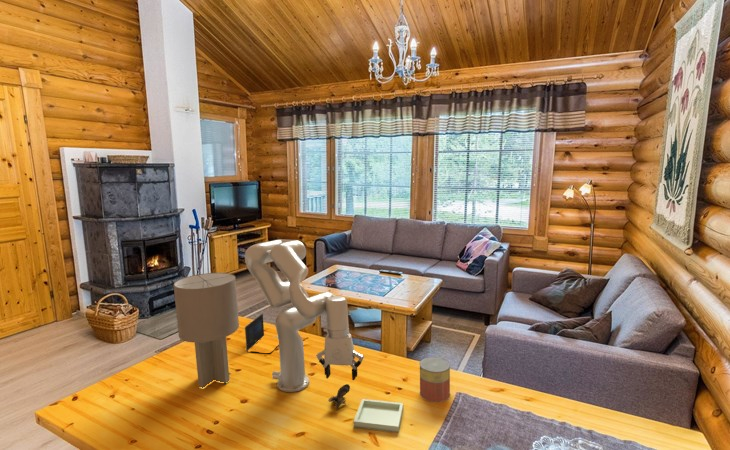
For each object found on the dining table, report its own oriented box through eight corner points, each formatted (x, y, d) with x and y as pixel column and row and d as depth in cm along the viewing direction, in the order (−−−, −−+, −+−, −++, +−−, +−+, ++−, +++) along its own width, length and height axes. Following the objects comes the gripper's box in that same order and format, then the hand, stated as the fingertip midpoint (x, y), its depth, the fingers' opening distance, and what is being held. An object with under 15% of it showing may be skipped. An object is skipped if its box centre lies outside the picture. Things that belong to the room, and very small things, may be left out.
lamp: (170, 389, 156) (159, 285, 150) (212, 362, 177) (204, 270, 171) (215, 400, 147) (205, 291, 141) (254, 371, 168) (247, 274, 162)
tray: (353, 427, 130) (353, 421, 130) (362, 404, 142) (362, 398, 142) (398, 432, 127) (398, 426, 126) (403, 408, 139) (403, 403, 139)
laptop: (270, 354, 183) (269, 328, 182) (246, 353, 186) (244, 326, 184) (286, 338, 201) (284, 314, 199) (263, 337, 203) (262, 313, 202)
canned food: (427, 382, 156) (427, 354, 154) (454, 391, 149) (454, 361, 148) (414, 396, 147) (414, 366, 145) (442, 406, 140) (442, 374, 138)
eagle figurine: (352, 408, 138) (355, 390, 147) (340, 394, 137) (343, 377, 145) (335, 417, 140) (338, 398, 149) (323, 403, 139) (327, 385, 147)
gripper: (311, 335, 136) (314, 381, 138) (359, 337, 132) (362, 384, 134) (318, 326, 143) (321, 370, 145) (364, 328, 139) (367, 373, 141)
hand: (341, 377), depth 140 cm, fingers open, 9 cm apart
